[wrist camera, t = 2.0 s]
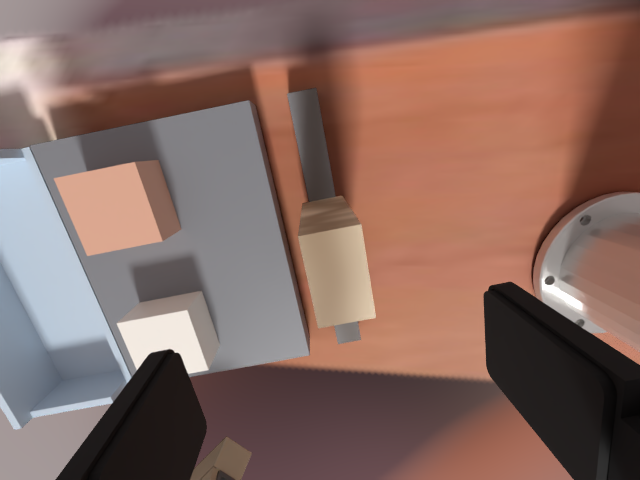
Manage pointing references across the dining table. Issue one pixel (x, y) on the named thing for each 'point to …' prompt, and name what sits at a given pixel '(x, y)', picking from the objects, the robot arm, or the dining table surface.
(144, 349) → the tile cream
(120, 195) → the tile terracotta
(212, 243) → the board
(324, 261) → the scraper
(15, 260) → the box
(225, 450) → the gun
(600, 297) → the robot arm
